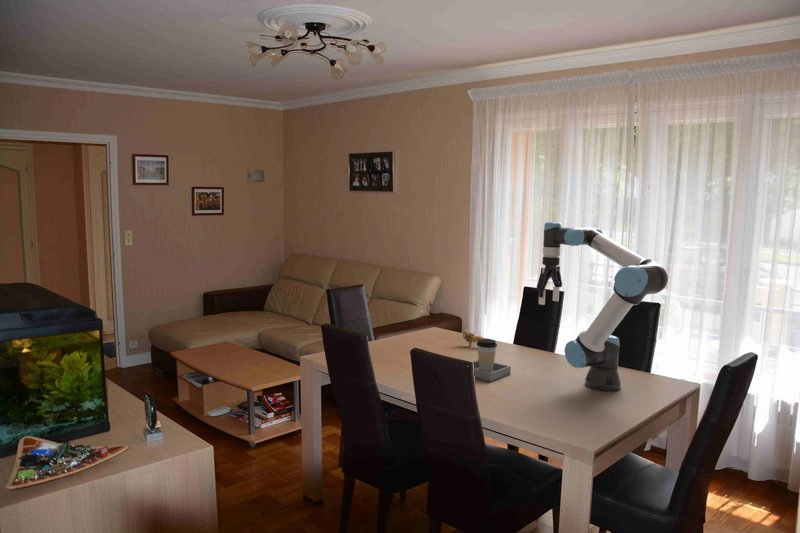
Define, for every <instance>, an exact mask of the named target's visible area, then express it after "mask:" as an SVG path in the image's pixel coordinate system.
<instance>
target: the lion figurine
mask: <svg viewBox="0 0 800 533" xmlns="http://www.w3.org/2000/svg"><path fill="white" fill-rule="evenodd" d="M462 338H463V339H464V340H465V341H466V342H467V343H468V346H467V348H471V347H472V344H473V343H474V344H477V342H478V340H480V339H484V338H483V336H480V335H479V336H476V335H475V334H474V333H472V332H470V331H469V330H463V331H462Z"/></svg>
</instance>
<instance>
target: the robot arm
mask: <svg viewBox="0 0 800 533" xmlns="http://www.w3.org/2000/svg"><path fill="white" fill-rule="evenodd" d="M543 227H544V228H543V247H542V256H543V257H542V262H541V263H542V265H543V266H544V267H541V269H540V274H539V277H538V281H537V285H536V290H538V305H543V306H545V305H546V291H547V290H545V289H546V287H547V284H548V282H549V280H550V279H551V281H552V283H553V285H554V286H553V288H552V289H553V290H552V301H553V302H559V301H560V288H562V287H563V281H562V276H561V275H562V274H561V266H560V263H561V262H560V256H561V245H565V246H570V247H576V246H577V247H579V246H584V245H586V246H588V247H589V248H591V249H593V250H595V251H596V252H598V253H600V254H601V255H603V256H604V257H605V258H608V259H609V260H610V261H612V262H614V263H615V264H617V265H618V266H620V267H622V268H619V270H618V271H617V272H616V273H615V276H614V278H613V287H612V290H613V293H612V295H611V296H610V298H608V301H607V302H606V303H605V305H604V306H603V307H602V309H601V310H600V311H599V313H598V314H597V316H596V317H595V319H594V320H593V321H592V323H591V324H590V325H589V327H588V328H587V329H586V330H584V331H583V330H582V331H581V332H580V333H579V334H578V335H577V337H576V339H574V340H570V341H568V342H566V343H565V346H564V357H565V360H566V361H567V363H568V364H569V365H570V366H571V367H573V368H576V369H582V368H583V369H584V368H587V367H588V368H589V369H588V372H587V373H586V376H585V378H584V385H585V386H586V387H589V388H591V389H594V390H599V391H606V392H607V391H608V392H609V391H610V392H611V391H618V390H621V388H622V381H621V378H620V373H619V371H618V370H619V358H620V357H619V355H620V346H621V345H620V339H619V337H617V336H615V335H612V334H613V332H614V331H615V329H616V328H617V327H618V326H619V324H620V323H621V322H622V321H623V320H624V318H625V316H626V315H627V314H628V312H630V310H631V308H632V307H633V306H637V305H640V303H642V301H643V300H644V298H645V297H646V296H647V295H655V294H658V293H660V292H662V291H663V290H664V289H665V288H666V287H667V285H668V283H669V282H668V281H669V276H668V273H667V270H666V269H665V268H664V267H663V266H662V265H661V264H659V263H657V262H655V261H654V260H652V259H650V258H644V257H643V256H640V255H639V254H637V253H635V252H634V251H631V250H630V249H629V248H627V247H625V246H624V245H621V244H620V243H618V242H616V241H615V240H613V239H612V238H610V237H608V236H606V235H605V234H604V232H603V230H602V229H601V228H599V227H593V226H591V227H563V226H562V223H561V222H557V221H556V222H555V221H547V222H545V223H544V226H543Z"/></svg>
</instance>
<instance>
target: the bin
mask: <svg viewBox="0 0 800 533" xmlns="http://www.w3.org/2000/svg"><path fill="white" fill-rule="evenodd" d="M472 362H473V364H474V376H475V380H480V381H482V382H483V381H484V382H487V383H493V382H495V381H498V380H501V379H503V378H506V377H508V376H510V375H511V370H512V369H511V367H512V366H511V365H506V364H502V363H498V362H494V364H493V370H492V372H491V373H488V372H484V371H480V370H479V361H478V359H477V360H474V361H472Z"/></svg>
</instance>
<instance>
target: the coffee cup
mask: <svg viewBox="0 0 800 533" xmlns="http://www.w3.org/2000/svg"><path fill="white" fill-rule="evenodd" d="M476 346H477V358H478V359H477V360H478V361H479V370H480V371H484V372H488V373H491V372H492V370H493V364H494V363H495V359H496V358H495V357H496V349H497V347H498V344H497V341H496V340H494V339H491V338H483V339H480V340H478V342H477V343H476Z"/></svg>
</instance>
